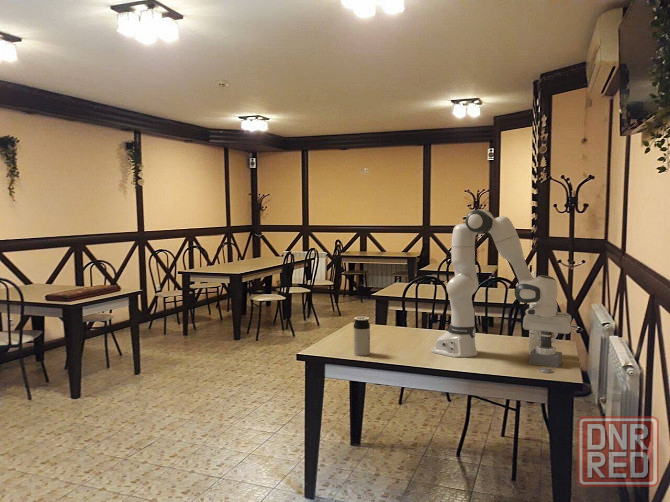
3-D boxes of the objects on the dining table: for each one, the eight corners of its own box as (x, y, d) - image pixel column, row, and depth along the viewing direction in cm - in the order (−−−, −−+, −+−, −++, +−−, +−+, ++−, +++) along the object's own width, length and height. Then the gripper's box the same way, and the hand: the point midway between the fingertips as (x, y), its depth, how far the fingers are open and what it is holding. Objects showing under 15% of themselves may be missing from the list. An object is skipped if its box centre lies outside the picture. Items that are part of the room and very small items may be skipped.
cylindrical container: (543, 357, 243) (544, 305, 242) (527, 355, 247) (528, 304, 245) (545, 354, 249) (546, 303, 248) (530, 352, 253) (531, 302, 252)
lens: (539, 346, 232) (540, 331, 232) (542, 344, 236) (542, 329, 236) (550, 347, 230) (550, 332, 229) (552, 345, 233) (552, 330, 233)
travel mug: (351, 355, 250) (351, 318, 249) (356, 351, 258) (356, 316, 257) (367, 356, 247) (367, 319, 246) (371, 352, 255) (371, 316, 254)
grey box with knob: (529, 363, 233) (529, 347, 233) (534, 359, 241) (534, 343, 240) (557, 367, 226) (557, 351, 226) (561, 363, 234) (562, 346, 233)
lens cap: (538, 372, 220) (538, 370, 220) (541, 369, 225) (541, 367, 225) (550, 374, 218) (550, 372, 218) (553, 371, 222) (553, 369, 222)
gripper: (572, 312, 229) (572, 342, 229) (525, 308, 240) (525, 337, 241) (570, 314, 223) (569, 345, 224) (521, 310, 235) (521, 339, 236)
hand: (546, 341), depth 233 cm, fingers closed on lens, 4 cm apart
